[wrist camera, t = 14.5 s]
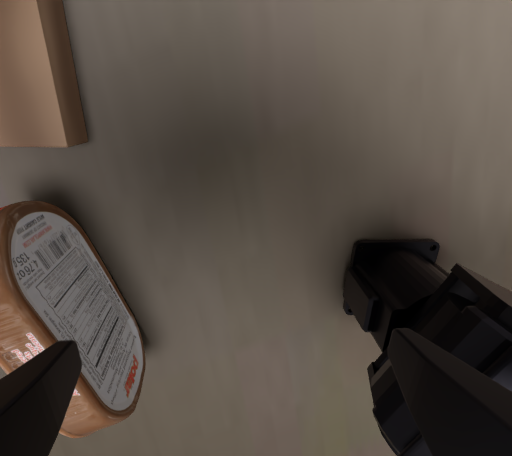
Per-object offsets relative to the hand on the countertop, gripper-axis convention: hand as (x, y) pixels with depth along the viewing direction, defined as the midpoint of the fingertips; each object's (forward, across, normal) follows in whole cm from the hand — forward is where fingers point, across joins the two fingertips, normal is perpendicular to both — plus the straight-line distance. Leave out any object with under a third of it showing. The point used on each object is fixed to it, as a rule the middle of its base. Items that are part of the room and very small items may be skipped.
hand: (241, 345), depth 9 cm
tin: (+13, +10, +6) cm, 18 cm away
